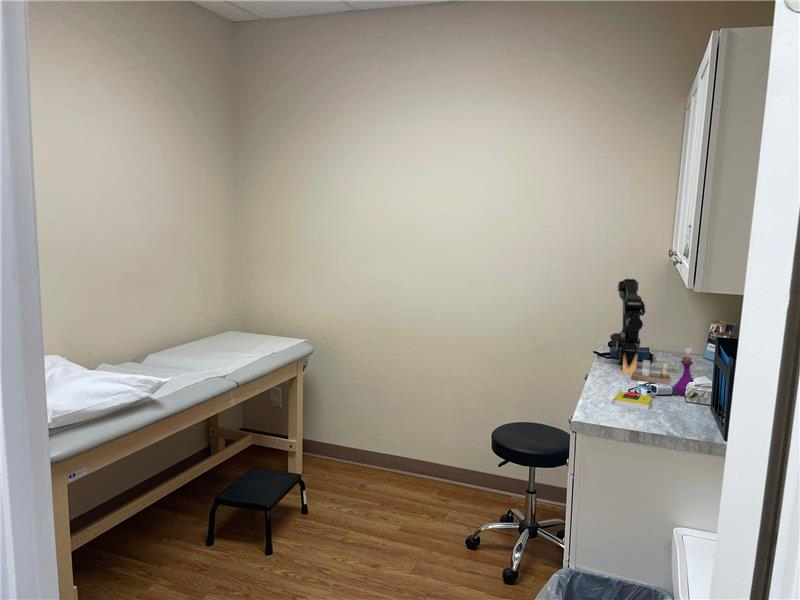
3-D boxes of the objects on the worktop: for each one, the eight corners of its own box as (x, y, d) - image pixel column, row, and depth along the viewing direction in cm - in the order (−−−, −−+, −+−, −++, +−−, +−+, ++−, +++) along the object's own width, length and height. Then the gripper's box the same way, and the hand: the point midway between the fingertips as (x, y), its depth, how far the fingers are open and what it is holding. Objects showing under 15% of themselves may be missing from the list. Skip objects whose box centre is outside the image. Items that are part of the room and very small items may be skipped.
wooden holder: (633, 374, 243) (634, 357, 242) (669, 378, 237) (671, 360, 236) (631, 379, 234) (632, 361, 234) (668, 384, 228) (670, 365, 227)
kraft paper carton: (623, 370, 251) (624, 353, 250) (636, 371, 249) (637, 354, 248) (622, 372, 247) (623, 355, 246) (635, 374, 244) (636, 356, 243)
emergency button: (615, 387, 208) (659, 394, 200) (614, 399, 208) (659, 406, 200) (609, 393, 200) (656, 400, 192) (608, 405, 200) (655, 413, 193)
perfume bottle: (694, 399, 207) (698, 350, 205) (672, 396, 211) (675, 348, 209) (698, 395, 213) (701, 347, 211) (676, 391, 217) (679, 345, 215)
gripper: (614, 322, 257) (612, 356, 259) (609, 328, 241) (607, 365, 243) (641, 324, 252) (639, 359, 254) (637, 331, 236) (635, 368, 238)
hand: (629, 362), depth 247 cm, fingers open, 9 cm apart
